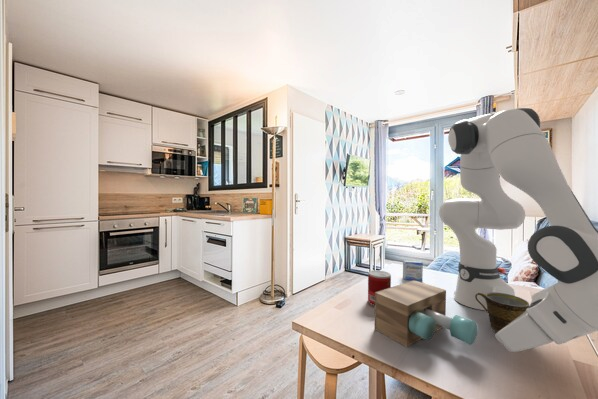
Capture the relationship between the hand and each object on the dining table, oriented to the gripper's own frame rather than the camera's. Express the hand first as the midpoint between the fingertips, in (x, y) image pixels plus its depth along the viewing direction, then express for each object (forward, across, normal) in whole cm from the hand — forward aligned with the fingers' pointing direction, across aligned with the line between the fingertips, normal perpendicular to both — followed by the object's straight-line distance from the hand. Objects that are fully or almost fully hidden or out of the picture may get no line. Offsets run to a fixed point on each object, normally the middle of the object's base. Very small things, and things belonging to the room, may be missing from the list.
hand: (499, 337), depth 58 cm
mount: (+19, 0, -9) cm, 21 cm away
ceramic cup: (+10, -21, +1) cm, 23 cm away
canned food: (+33, -6, -22) cm, 40 cm away
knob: (+12, 0, -6) cm, 13 cm away
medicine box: (+39, -41, -28) cm, 63 cm away
